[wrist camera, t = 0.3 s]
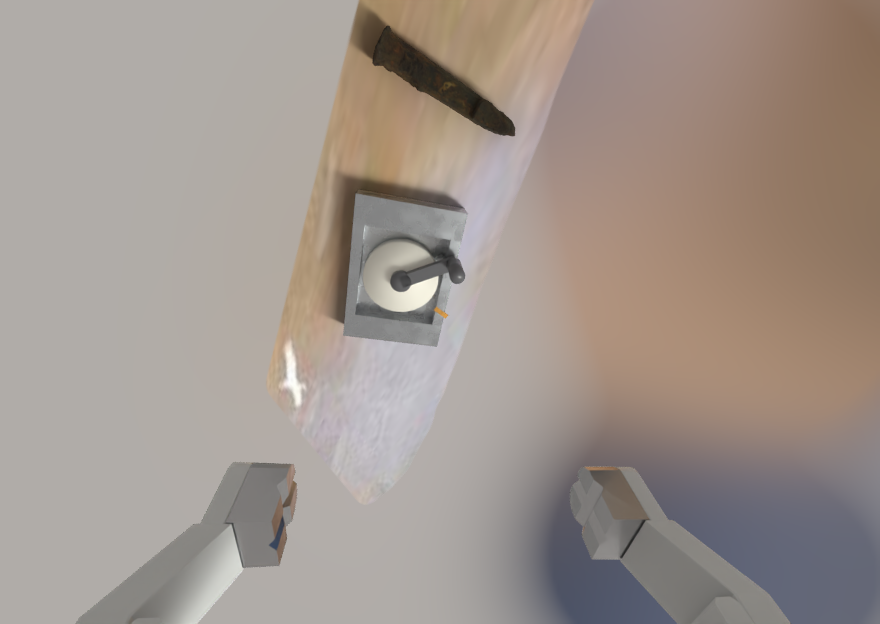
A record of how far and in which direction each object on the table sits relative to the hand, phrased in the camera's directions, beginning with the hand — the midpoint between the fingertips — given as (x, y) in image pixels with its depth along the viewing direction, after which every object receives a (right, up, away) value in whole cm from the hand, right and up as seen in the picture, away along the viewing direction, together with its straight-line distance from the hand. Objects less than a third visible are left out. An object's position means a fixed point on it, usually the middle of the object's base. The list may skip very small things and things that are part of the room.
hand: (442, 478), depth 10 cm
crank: (-4, +11, +45) cm, 46 cm away
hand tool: (+1, +33, +35) cm, 48 cm away
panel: (-6, +11, +46) cm, 48 cm away
